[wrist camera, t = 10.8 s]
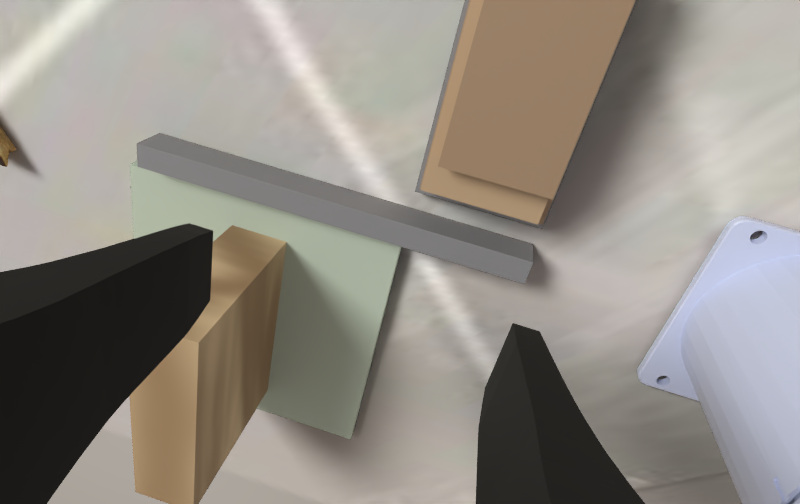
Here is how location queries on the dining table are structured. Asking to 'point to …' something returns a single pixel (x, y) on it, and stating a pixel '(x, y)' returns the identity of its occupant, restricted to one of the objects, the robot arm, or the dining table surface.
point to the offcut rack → (459, 136)
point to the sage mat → (295, 295)
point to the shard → (5, 148)
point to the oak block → (210, 373)
